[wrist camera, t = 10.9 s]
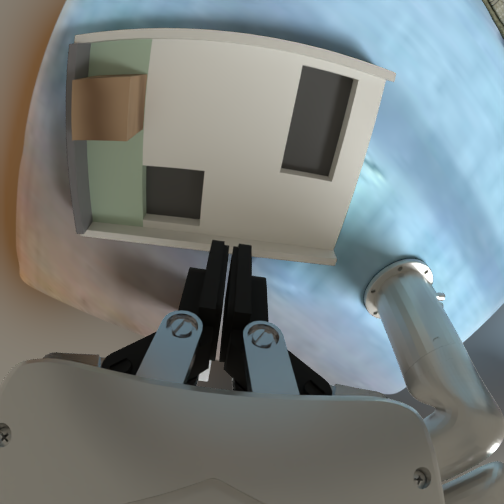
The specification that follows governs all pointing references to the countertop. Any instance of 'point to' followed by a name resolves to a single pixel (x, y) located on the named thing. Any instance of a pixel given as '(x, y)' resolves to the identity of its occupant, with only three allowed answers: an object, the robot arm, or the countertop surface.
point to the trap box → (225, 142)
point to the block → (108, 107)
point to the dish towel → (496, 13)
